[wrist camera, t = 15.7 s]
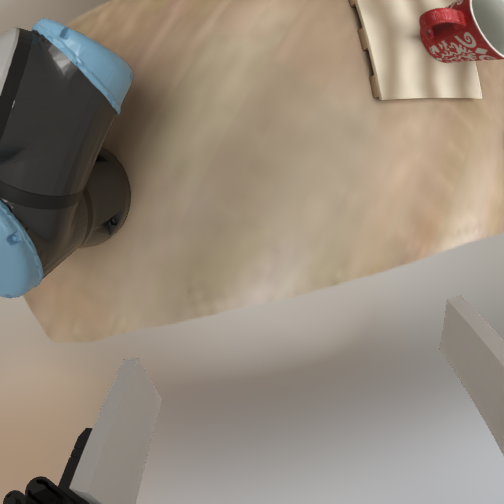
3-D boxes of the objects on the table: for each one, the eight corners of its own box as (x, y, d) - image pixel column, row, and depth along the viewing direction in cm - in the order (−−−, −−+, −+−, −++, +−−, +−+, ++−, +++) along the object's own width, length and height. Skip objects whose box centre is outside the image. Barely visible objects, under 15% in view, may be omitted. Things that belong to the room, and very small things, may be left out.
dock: (373, 101, 37) (382, 99, 34) (344, -13, 30) (350, -21, 28) (471, 98, 36) (482, 98, 33) (445, -4, 29) (454, -9, 26)
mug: (457, 17, 28) (514, -2, 16) (469, 72, 31) (530, 66, 19) (385, 4, 29) (433, -31, 16) (398, 64, 32) (454, 46, 20)
